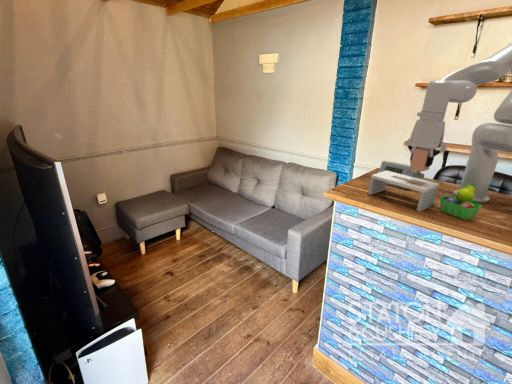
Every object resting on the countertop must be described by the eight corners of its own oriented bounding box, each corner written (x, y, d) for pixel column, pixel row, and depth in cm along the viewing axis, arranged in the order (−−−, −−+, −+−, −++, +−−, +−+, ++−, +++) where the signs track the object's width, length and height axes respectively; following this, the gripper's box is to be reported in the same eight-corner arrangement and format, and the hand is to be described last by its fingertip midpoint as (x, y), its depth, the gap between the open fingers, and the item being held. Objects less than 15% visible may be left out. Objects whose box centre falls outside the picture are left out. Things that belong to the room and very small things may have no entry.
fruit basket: (435, 209, 107) (442, 182, 102) (449, 206, 110) (457, 179, 106) (466, 222, 97) (475, 192, 93) (480, 217, 100) (491, 189, 96)
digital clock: (373, 181, 137) (377, 161, 134) (384, 178, 142) (388, 158, 138) (403, 191, 125) (408, 169, 121) (415, 188, 129) (420, 166, 125)
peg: (413, 174, 111) (420, 147, 107) (426, 177, 107) (433, 149, 103) (407, 176, 108) (414, 148, 104) (420, 179, 105) (428, 150, 101)
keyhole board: (382, 188, 127) (386, 170, 124) (433, 204, 111) (439, 183, 108) (368, 194, 121) (371, 174, 118) (419, 211, 104) (425, 189, 101)
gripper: (403, 115, 104) (394, 161, 110) (454, 119, 91) (439, 171, 98) (413, 114, 108) (403, 158, 115) (462, 118, 95) (448, 168, 102)
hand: (420, 164), depth 106 cm, fingers closed on peg, 5 cm apart
